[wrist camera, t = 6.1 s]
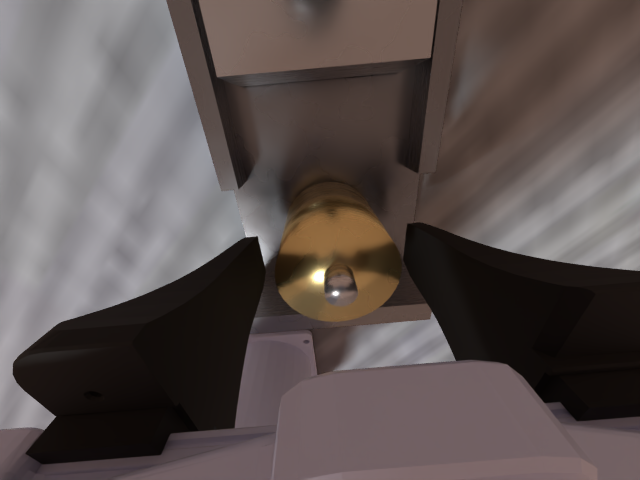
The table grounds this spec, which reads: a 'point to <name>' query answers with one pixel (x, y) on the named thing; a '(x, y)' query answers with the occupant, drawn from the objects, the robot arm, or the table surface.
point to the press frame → (323, 149)
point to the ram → (316, 38)
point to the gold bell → (335, 255)
